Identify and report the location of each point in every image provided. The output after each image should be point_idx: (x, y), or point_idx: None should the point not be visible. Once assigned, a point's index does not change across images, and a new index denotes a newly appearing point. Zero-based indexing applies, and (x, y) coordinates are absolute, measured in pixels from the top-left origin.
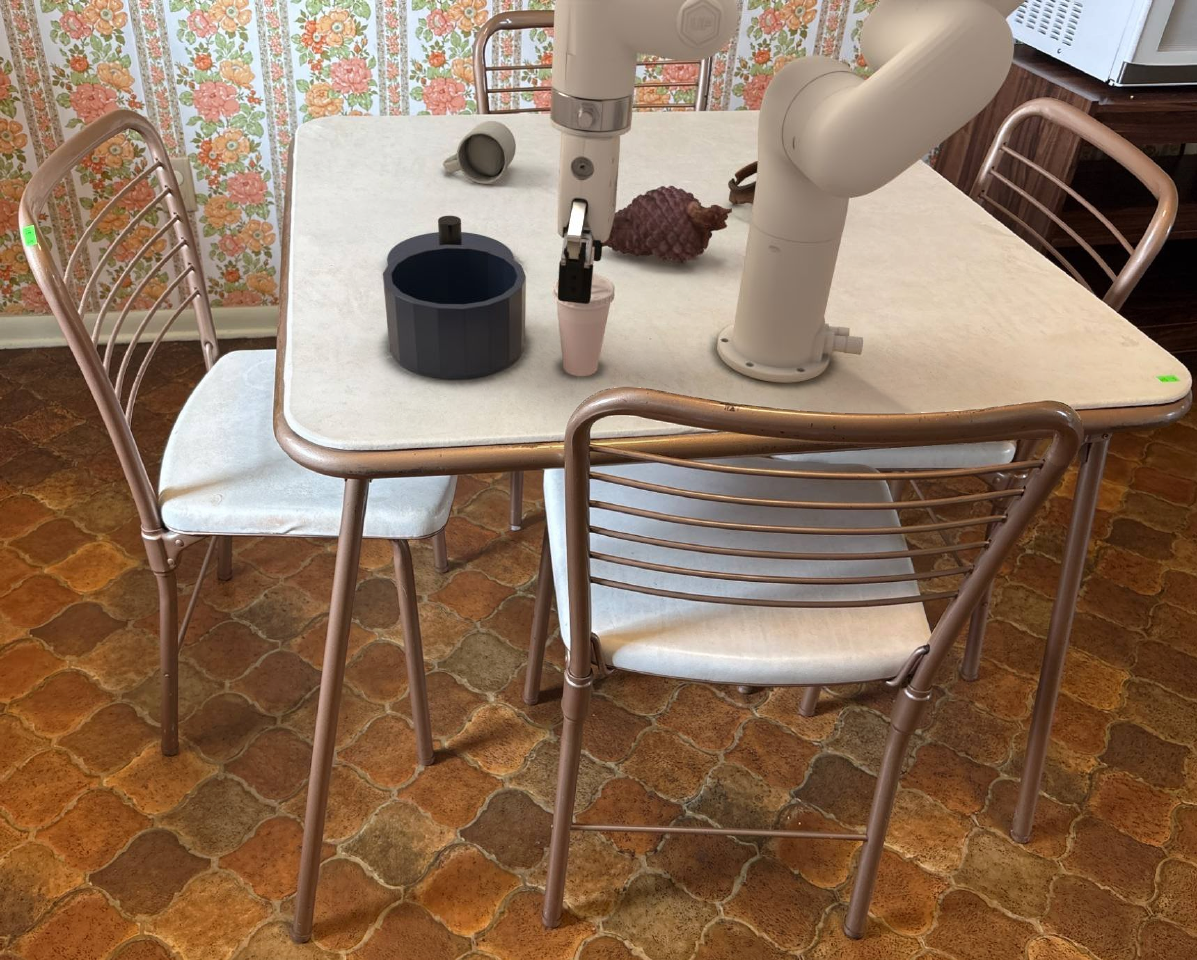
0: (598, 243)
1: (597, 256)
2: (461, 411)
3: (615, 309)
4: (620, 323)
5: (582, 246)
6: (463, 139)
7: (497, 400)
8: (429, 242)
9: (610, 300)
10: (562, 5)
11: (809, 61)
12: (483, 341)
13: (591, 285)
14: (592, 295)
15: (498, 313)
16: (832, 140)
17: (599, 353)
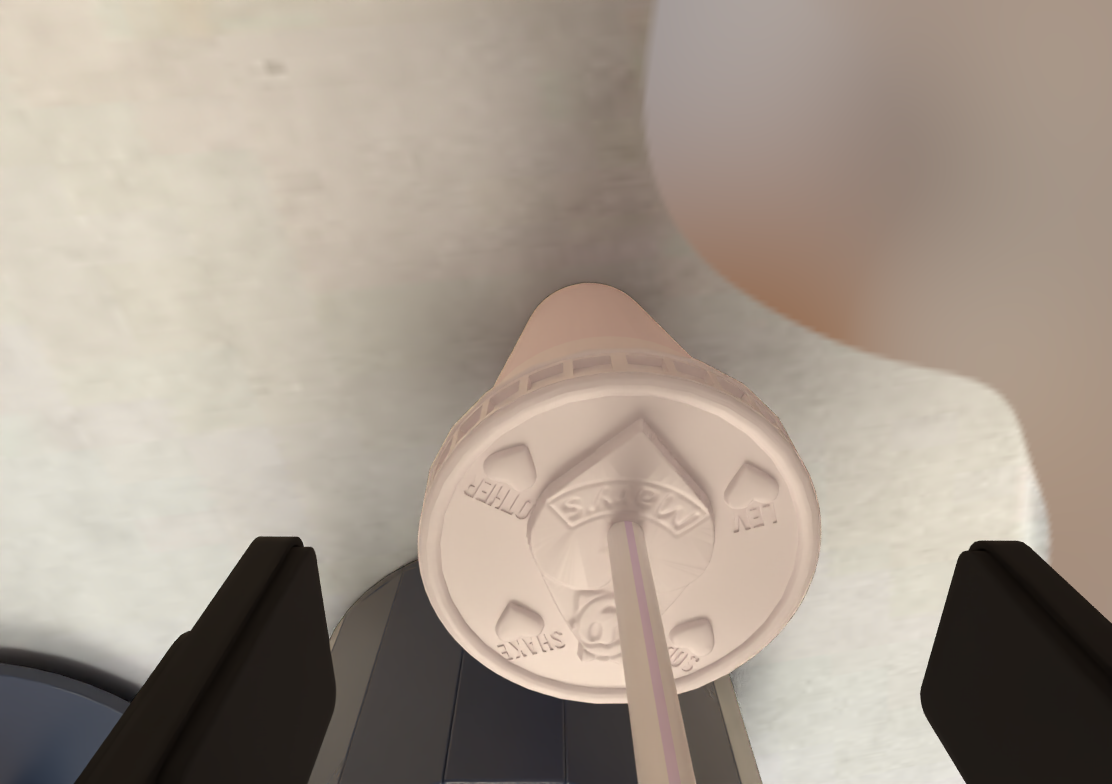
0: (259, 662)
1: (303, 578)
2: (885, 635)
3: (69, 256)
4: (185, 222)
5: (297, 730)
6: None
7: (824, 561)
8: None
9: (694, 371)
10: None
11: None
12: (730, 722)
13: (1076, 623)
14: (747, 503)
15: (709, 777)
16: None
17: (618, 299)
